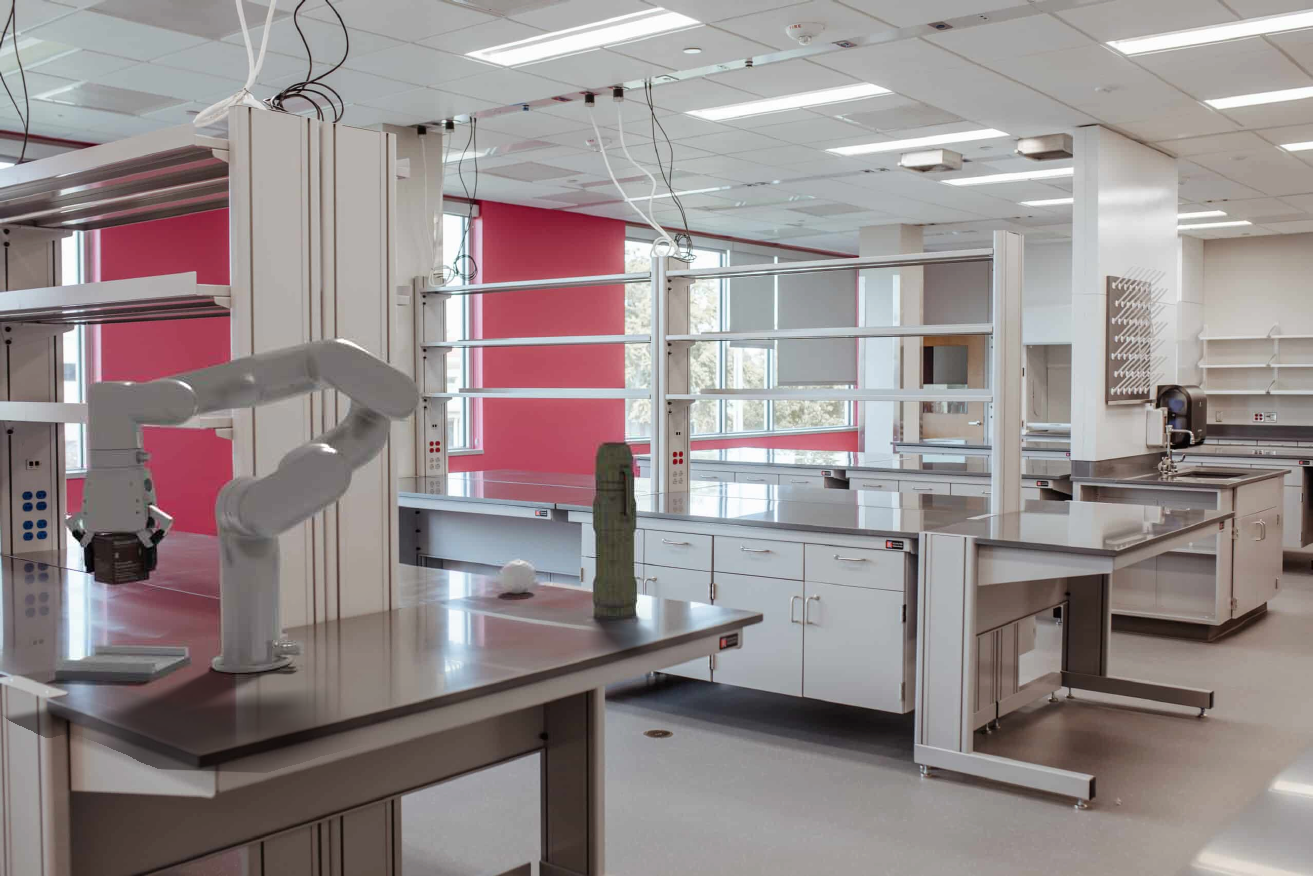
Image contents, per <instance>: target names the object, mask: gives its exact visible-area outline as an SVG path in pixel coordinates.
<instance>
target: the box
mask: <svg viewBox="0 0 1313 876" xmlns="http://www.w3.org/2000/svg"><path fill="white" fill-rule="evenodd" d="M142 547H144V544H143V542H142V541H141V540H140V538H139V537H138V535H137V534H136V533H103V534H102V535H96V536H94V537H93V556H94V572H93V581H94V582H95V583H99V584H105V585H109V586H118V585H123V584H130V583H131V584H132V583H137V582H143V581H149V580H150V572H148V573H143V572H142V566H141V548H142Z"/></svg>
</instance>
